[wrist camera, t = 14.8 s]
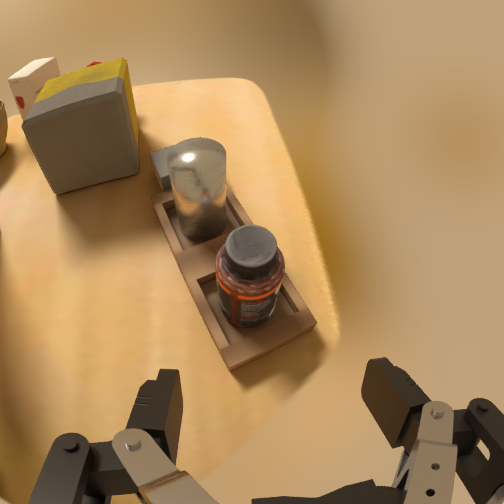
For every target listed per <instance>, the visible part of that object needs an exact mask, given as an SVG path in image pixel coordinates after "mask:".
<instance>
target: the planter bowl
mask: <svg viewBox="0 0 504 504" xmlns="http://www.w3.org/2000/svg"><path fill="white" fill-rule="evenodd" d="M7 128H8V123H7V115H6V111H5V108H4V102H3V101H2V100H0V156H1V155H2V154H3V152H4V151H5V149H6V145H7V144H6V137H7Z"/></svg>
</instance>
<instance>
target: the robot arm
mask: <svg viewBox="0 0 504 504" xmlns="http://www.w3.org/2000/svg"><path fill="white" fill-rule="evenodd" d="M361 394H362V398H363V401H364V402H365V404H366V406H367V407H368V409H369V411H370V412H371V414H372V415H373V417H374V419H375V420H376V422H377V424H378V425H379V427H380V428H381V430H382V432H383V433H384V435H385V437H386V439H387V440H388V442H389V443H390V445H391V447H392V448H396V447H400V446H404V450H403V452H402V455H401V459H400V462H399V466H398V469H397V472H396V475H395V478H394V481H393V484H392V486H391V487H387V486H376V485H375V483H374V481H373V479H371V480H367V481H364V482H360V483H356V484H352V485H347V486H344V487H342V488H340V489H337V490H335V491H333V492H330V493H328V494H326V495H323V496H321V497H317V498H305V497H288V496H280V497H271V498H257V499H252V504H451V498H452V492H453V485H454V478H455V471H456V472H457V474H458V476H459V477H460V479H461V481H462V482H463V484H464V485H465V487H466V488H467V490H468V492H469V494H470V495H471V497H472V499H473V500H474V502H475V503H476V504H504V415H503V414H502V412H501V411H500V410H498V408H497V407H496V406H495V405H494V404H493V403H492V402H491V401H489V400H487V399H483V398H476V399H473V400H471V401H470V403H469V405H468V407H467V409H461V410H453V409H452V408H451V407H450V406H449V405H448V404H446V403H444V402H441V401H431V400H430V399H429V397H428V396H427V395H426V394H425V393H424V392H423V391H422V389H421V388H420V387H419V386H418V385H416V383H415V382H414V380H413V379H411V377H410V376H409V375H408V374H407V373H406V372H405V371H404V370H402V369H401V368H399V367H397V366H393V364H392V363H391V362H390V361H389V360H388V359H387V358H386V357H383V358H377V359H370V360H369V361H368V363H367V367H366V371H365V375H364V379H363V384H362V388H361ZM182 414H183V397H182V390H181V383H180V375H179V370H177V369H160V370H159V373H158V377H157V380H147V381H146V382H145V383H144V384H143V385H142V386H141V387H140V389H139V392H138V394H137V397H136V400H135V404H134V406H133V409H132V411H131V414H130V417H129V420H128V423H127V426H126V429H125V430H122V431H120V432H119V433H117V434H116V435H115V436H114V438H113V440H112V441H108V442H98V443H89V442H88V440H87V439H86V438H85V437H84V436H82V435H80V434H78V433H66V434H63V435H60V436H59V437H57V438H56V439H55V441H54V442H53V444H52V447H51V449H50V451H49V453H48V456H47V458H46V460H45V463H44V465H43V468H42V470H41V472H40V475H39V477H38V480H37V482H36V485H35V488H34V490H33V493H32V495H31V498H30V501H29V504H110V502H111V496H112V495H123V494H132V493H135V495H136V496H137V497H138V499H139V500H140V502H141V503H142V504H219V503H218V502H217V501H215V500H214V499H213V498H212V497H211V496H210V495H209V494H208V493H207V492H206V491H205V490H204V489H203V488H202V487H201V486H200V485H199V484H198V483H197V482H196V480H195V479H194V478H193V477H192V476H191V475H190V474H189V473H187V472H186V471H182V472H181V471H179V470H178V469H177V467H176V458H177V450H178V442H179V435H180V428H181V421H182ZM480 440H482V442H483V443H484V444H485V445H486V447H487V448H488V449H489V452H490V458H489V460H487V459H486V458H485V456H484V455H483V453H482V452H481V451H480V450H479V448H478V447H477V444H478V443H479V441H480Z"/></svg>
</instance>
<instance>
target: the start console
mask: <svg viewBox="0 0 504 504" xmlns="http://www.w3.org/2000/svg"><path fill="white" fill-rule="evenodd" d="M199 138H201V137H199ZM173 146H175V145H173ZM173 146H170V147H166V148H163V149H160V150H157V151H154V152H151V153H150V157H151V162H152V166H153V171H154V174H155V176H156V179H157V181H158V183H159V186H160V188H161V190H162V192H163V191H166V190H169V189H172V187H171V181H170V176H169V171H168V165H167V154H168V152H169V151H170V149H171V148H172V147H173Z"/></svg>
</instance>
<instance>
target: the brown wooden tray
mask: <svg viewBox="0 0 504 504" xmlns="http://www.w3.org/2000/svg"><path fill="white" fill-rule="evenodd" d="M151 200H152V203H153V207H154V210H155V212H156V215H157V217H158V219H159V222H160V224H161V227H162V229H163V232H164V234H165V236H166V239H167V241H168V243H169V246H170V248H171V250H172V253H173V255H174V257H175V260H176V262H177V264H178V266H179V269H180V271H181V273H182V275H183V278H184V280H185V282H186V284H187V286H188V288H189V291H190V293H191V295H192V297H193V299H194V301H195V304H196V306H197V308H198V310H199V312H200V314H201V316H202V318H203V320H204V322H205V324H206V326H207V328H208V330H209V332H210V334H211V336H212V338H213V340H214V342H215V344H216V346H217V348H218V350H219V352H220V354H221V356H222V358H223V360H224V362H225V364H226V366H227V368H228V370H229V372H230V371H232V370H235V369H237V368H239V367H241V366H243V365H245V364H247V363H249V362H251V361H253V360H255V359H257V358H259V357H261V356H263V355H265V354H267V353H269V352H271V351H273V350H275V349H277V348H279V347H281V346H283V345H285V344H287V343H289V342H291V341H292V340H294V339H296V338H298V337H300V336H302V335H304V334H305V333H307V332H309V331H311V330H312V329H313V328H314V326H315V325H316V324H317V321H316V320H315V318H314V316H313V315H312V313H311V312H310V310H309V309H308V307H307V306H306V304H305V302H304V301H303V299H302V298H301V296H300V295H299V293H298V291H297V290H296V288H295V287H294V285H293V284H292V282H291V281H290V279H289V277H288V276H287V274H286V273H285V271H284V275H283V279H282V283H281V287H280V290H279V294H278V297H277V301H276V305H275V308H274V310H273V313H272V315H271V316H270V317H269V319H268V320H267V321H266V322H264V323H263V324H261V325H259V326H256V327H250V328H244V327H239V326H237V325H234V324H233V323H231V322H230V321H228V320H227V319H226V318H225V316H224V315H223V313H222V310H221V308H220V304H219V296H218V289H217V280H216V271H215V263H216V257H217V254H218V252H219V250H220V249H221V247H222V246H223V245H224V244H225V243H226V240H227V238H228V236H229V235H230V233H231V232H232V231H233V230H235V229H236V228H238V227H241V226H244V225H254V224H253V222H252V221H251V219H250V218H249V216H248V215H247V213H246V212H245V210H244V209H243V207H242V206H241V204H240V203H239V201H238V200H237V198H236V197H235V195H234V194H233V192H232V191H231V189H230V188H229V186H228V185H227V183H226V227H225V230H224V231H223V233H222V234H221V235H220V236H218V237H217V238H215V239H212V240H210V241H206V242H197V241H193V240H190V239H188V238H187V237H185V236H184V235H183V233H182V232H181V230H180V226H179V221H178V217H177V212H176V207H175V202H174V197H173V192H172V189H169V190H166V191H163V192H160V193H158V194H155V195H152V196H151Z"/></svg>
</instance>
